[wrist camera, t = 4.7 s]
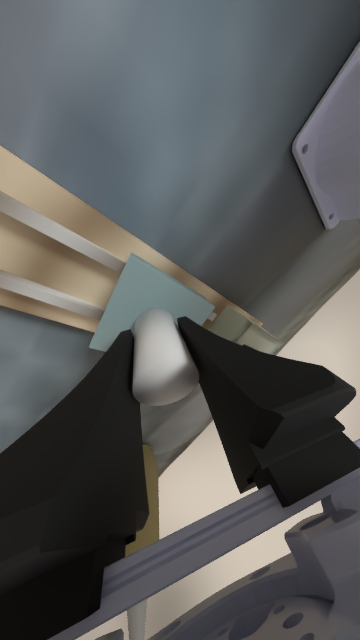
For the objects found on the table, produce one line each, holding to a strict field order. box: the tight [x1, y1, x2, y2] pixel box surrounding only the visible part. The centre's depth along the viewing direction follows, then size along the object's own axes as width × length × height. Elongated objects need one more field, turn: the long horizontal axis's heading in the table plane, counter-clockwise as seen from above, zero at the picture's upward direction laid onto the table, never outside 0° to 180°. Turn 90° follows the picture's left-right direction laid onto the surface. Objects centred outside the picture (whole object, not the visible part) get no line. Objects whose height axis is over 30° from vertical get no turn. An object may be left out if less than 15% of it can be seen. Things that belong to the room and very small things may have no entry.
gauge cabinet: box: [208, 305, 283, 355], centre depth 16 cm, size 6×8×5 cm
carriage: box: [88, 252, 215, 406], centre depth 9 cm, size 7×7×8 cm
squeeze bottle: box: [125, 444, 159, 640], centre depth 22 cm, size 8×8×18 cm
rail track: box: [0, 146, 263, 332], centre depth 13 cm, size 28×9×3 cm, turn 57°
